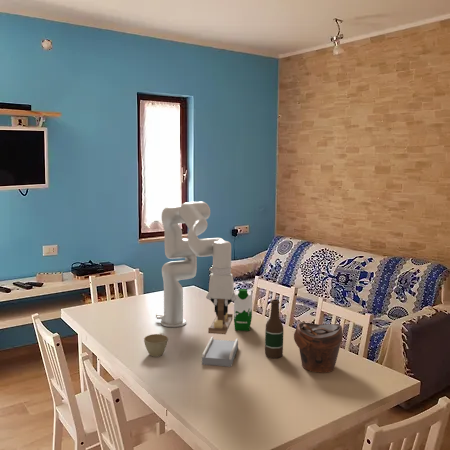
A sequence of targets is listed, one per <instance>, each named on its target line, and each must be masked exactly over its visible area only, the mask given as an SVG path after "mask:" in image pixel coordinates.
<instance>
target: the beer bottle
mask: <svg viewBox="0 0 450 450" xmlns="http://www.w3.org/2000/svg"><path fill="white" fill-rule="evenodd" d="M270 303H271V307H270V315H269V318H268V320H267V321H266V324H265V331H264V333H265V334H264V337H265V338H264V353H265V357H268V358H270V359H280V358H281V357H283V355H284V354H283V353H284V325H283V322H282V320H281V317H280V300H279V299H272V300H271V301H270Z"/></svg>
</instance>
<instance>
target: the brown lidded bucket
mask: <svg viewBox="0 0 450 450" xmlns="http://www.w3.org/2000/svg"><path fill="white" fill-rule="evenodd" d="M343 336H344V334H343V326H342V325H341V324H340V323H327V324H324V323H323V324H322V323H321V324H318V323H311V322H300V323H298V324H297V325H296V328H295V331H294V333H293V340H294V342H295V344H296V346H297V347H298V350H299V356H300V362H301V366H302V367H303V368H304V369H305V370H307V371H310V372H314V373H323V374H324V373H330V372H332V371H334V370H335V368H336V363H337V359H338V356H339V352H340V349H341V344H342V342H343Z"/></svg>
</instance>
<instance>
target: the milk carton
mask: <svg viewBox="0 0 450 450" xmlns="http://www.w3.org/2000/svg"><path fill="white" fill-rule="evenodd" d="M234 293H235V295H236V297H237V299H236V300H235V301H233V323H234V324H233V325H234V331H238V332H239V331H240V332H241V331H243V332H250V329H251V324H252V320H253V295H252V291H251V290H248V289H246V288H240V289H238V290H235V291H234Z"/></svg>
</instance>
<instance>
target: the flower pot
mask: <svg viewBox="0 0 450 450" xmlns="http://www.w3.org/2000/svg"><path fill="white" fill-rule="evenodd" d="M168 340H169V338H168V336H167V335H165V334H160V333H154V334H152V333H151V334H148V335H146V336H145V337H144V338H143V342H144V347H145V348H146V349H145V350H146V352H147V353H148V354H149V356H150V357H153V358H158V357H161V356H162V355H163V354H164V352H165V350H166V348H167V345H168Z"/></svg>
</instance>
